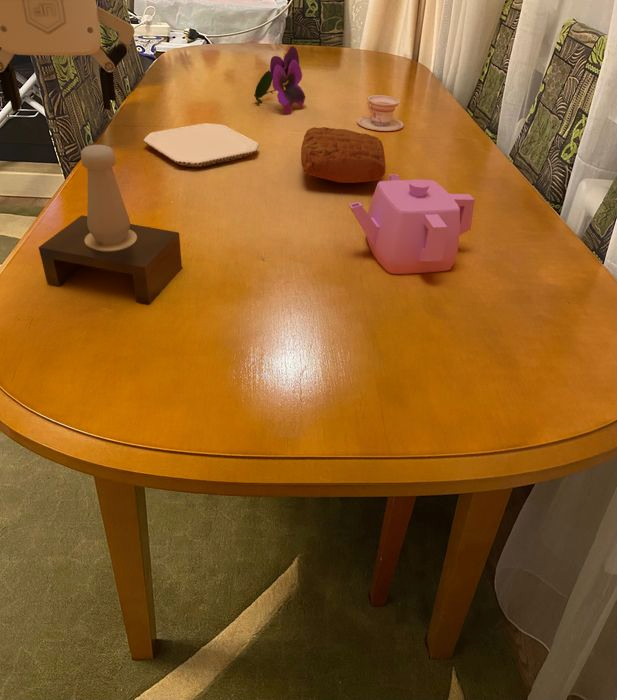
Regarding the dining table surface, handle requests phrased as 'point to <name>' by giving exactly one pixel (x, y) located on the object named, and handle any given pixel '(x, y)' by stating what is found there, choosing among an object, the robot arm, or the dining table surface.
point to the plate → (201, 144)
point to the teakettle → (414, 225)
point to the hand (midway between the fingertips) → (63, 107)
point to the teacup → (381, 114)
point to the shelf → (115, 256)
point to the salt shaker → (104, 197)
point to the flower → (283, 81)
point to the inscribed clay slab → (342, 155)
